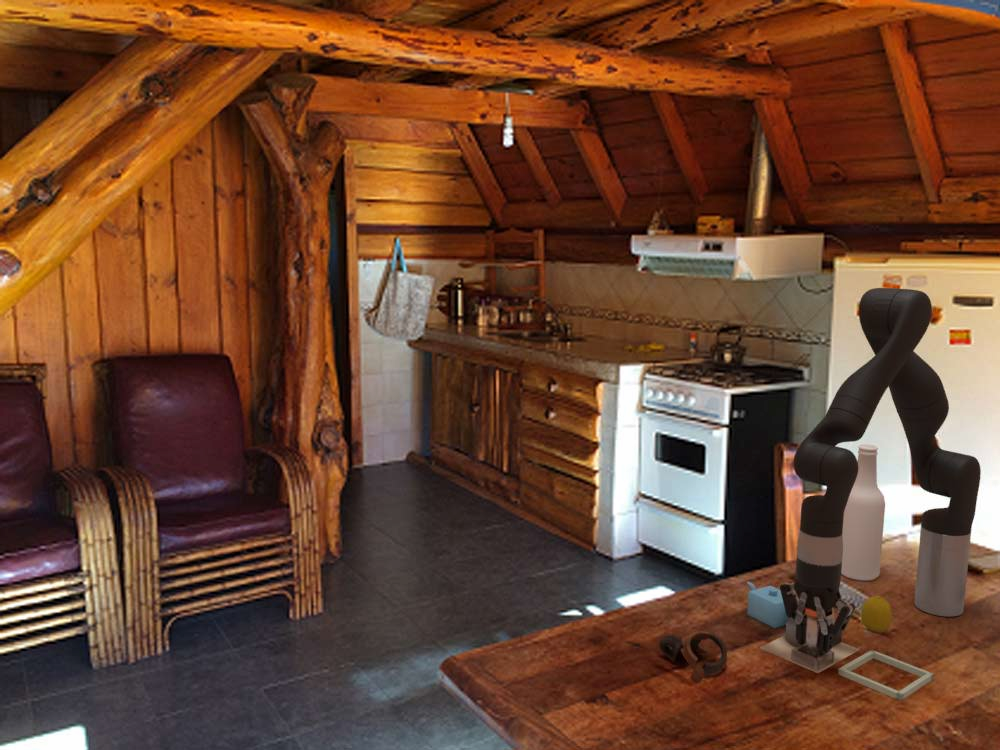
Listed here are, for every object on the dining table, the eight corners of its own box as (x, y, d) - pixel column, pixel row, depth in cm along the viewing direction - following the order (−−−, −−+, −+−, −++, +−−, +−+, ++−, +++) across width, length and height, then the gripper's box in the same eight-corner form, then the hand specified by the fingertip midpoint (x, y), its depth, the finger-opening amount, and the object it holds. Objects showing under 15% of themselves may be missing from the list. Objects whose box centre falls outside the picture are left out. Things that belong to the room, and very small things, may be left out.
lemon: (893, 642, 171) (896, 602, 169) (862, 639, 172) (865, 600, 170) (886, 629, 176) (890, 591, 175) (857, 626, 177) (860, 588, 176)
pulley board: (800, 633, 174) (802, 602, 173) (859, 657, 165) (862, 623, 164) (757, 654, 165) (759, 621, 164) (817, 681, 156) (819, 646, 155)
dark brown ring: (719, 660, 165) (733, 633, 159) (714, 704, 157) (729, 678, 152) (656, 638, 166) (667, 612, 161) (648, 681, 159) (660, 655, 154)
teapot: (734, 615, 182) (736, 580, 181) (756, 609, 185) (758, 574, 184) (780, 638, 172) (782, 602, 171) (802, 631, 175) (804, 595, 174)
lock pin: (808, 654, 163) (812, 601, 161) (827, 662, 160) (831, 608, 158) (796, 660, 160) (800, 606, 158) (815, 668, 157) (819, 614, 156)
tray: (870, 662, 163) (871, 649, 162) (932, 687, 154) (933, 673, 154) (837, 682, 156) (838, 668, 155) (900, 709, 147) (901, 694, 147)
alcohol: (878, 584, 198) (888, 452, 193) (836, 577, 202) (845, 448, 197) (880, 570, 206) (890, 444, 201) (839, 564, 210) (848, 439, 205)
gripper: (868, 562, 154) (861, 656, 156) (795, 540, 164) (790, 627, 167) (845, 573, 149) (838, 669, 152) (771, 549, 160) (766, 639, 163)
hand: (813, 647), depth 159 cm, fingers open, 3 cm apart
